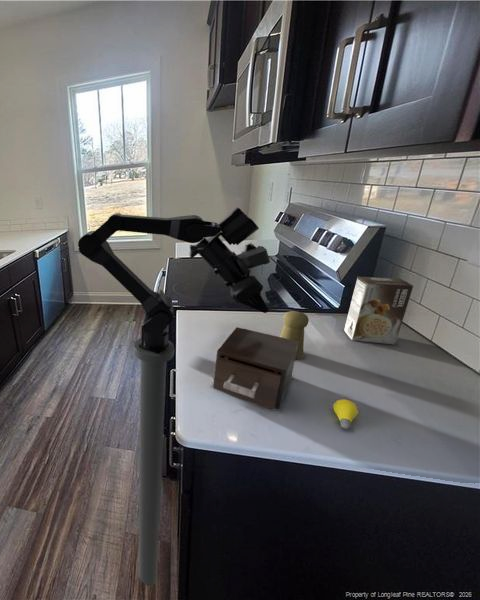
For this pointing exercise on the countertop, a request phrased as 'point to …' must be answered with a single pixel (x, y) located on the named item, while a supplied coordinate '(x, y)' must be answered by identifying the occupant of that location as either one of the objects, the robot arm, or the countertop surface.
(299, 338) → the cork
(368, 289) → the coffee box
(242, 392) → the drawer
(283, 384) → the cabinet
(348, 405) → the light bulb
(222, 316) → the countertop surface
